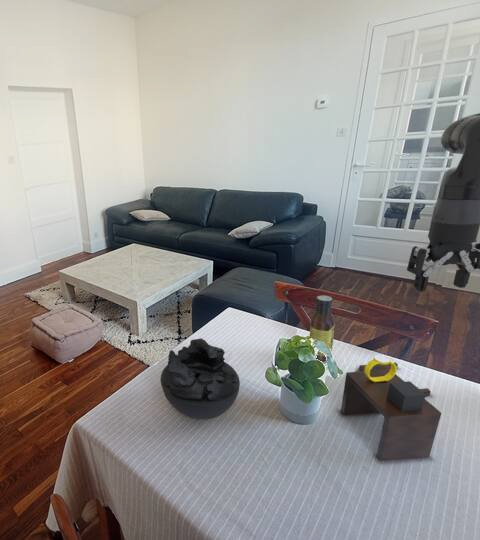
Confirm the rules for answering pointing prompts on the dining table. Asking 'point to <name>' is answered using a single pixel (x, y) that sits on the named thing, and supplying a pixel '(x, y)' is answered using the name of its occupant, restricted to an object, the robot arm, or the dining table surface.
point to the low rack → (388, 366)
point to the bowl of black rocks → (200, 381)
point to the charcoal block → (406, 396)
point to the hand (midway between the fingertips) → (439, 288)
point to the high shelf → (391, 416)
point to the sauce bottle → (323, 323)
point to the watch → (384, 361)
